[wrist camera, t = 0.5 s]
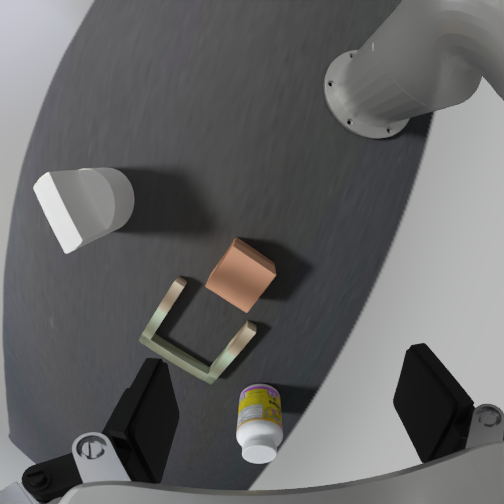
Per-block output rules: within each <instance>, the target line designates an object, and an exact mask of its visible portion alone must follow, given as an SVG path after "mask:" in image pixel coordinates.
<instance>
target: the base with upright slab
mask: <svg viewBox="0 0 504 504" xmlns="http://www.w3.org/2000/svg"><path fill="white" fill-rule="evenodd" d="M33 188H34V191H35V193H36V195H37V198H38V200H39V202H40V204H41V206H42V209H43V211H44V213H45V215H46V217H47V219H48V221H49V223H50V225H51V227H52V229H53V231H54V233H55V235H56V237H57V239H58V241H59V243H60V245H61V246H62V248H63V250H64V252H65V254H67V253H70V252H72V251H74V250H76V249H78V248H80V247H82V246H84V245H86V244H88V243H90V242H92V241H94V240H96V239H98V238H100V237H102V236H104V235H106V234H108V233H111V232H113V231H115V230H117V229H119V228H121V227H122V226H123V225H124V224H126V223H127V221H128V220H129V218H130V217H131V215H132V212H133V209H134V200H135V198H134V191H133V188H132V185H131V183H130V181H129V180H128V178H127V177H126V176H125V175H124V174H123V173H122V172H120V171H118V170H116V169H114V168H84V169H80V170H69V171H55V172H47V173H46V174H44V175H43V176H42V177H40V178H39V180H38V181H37V182H36V184H35V185H34V187H33Z"/></svg>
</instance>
